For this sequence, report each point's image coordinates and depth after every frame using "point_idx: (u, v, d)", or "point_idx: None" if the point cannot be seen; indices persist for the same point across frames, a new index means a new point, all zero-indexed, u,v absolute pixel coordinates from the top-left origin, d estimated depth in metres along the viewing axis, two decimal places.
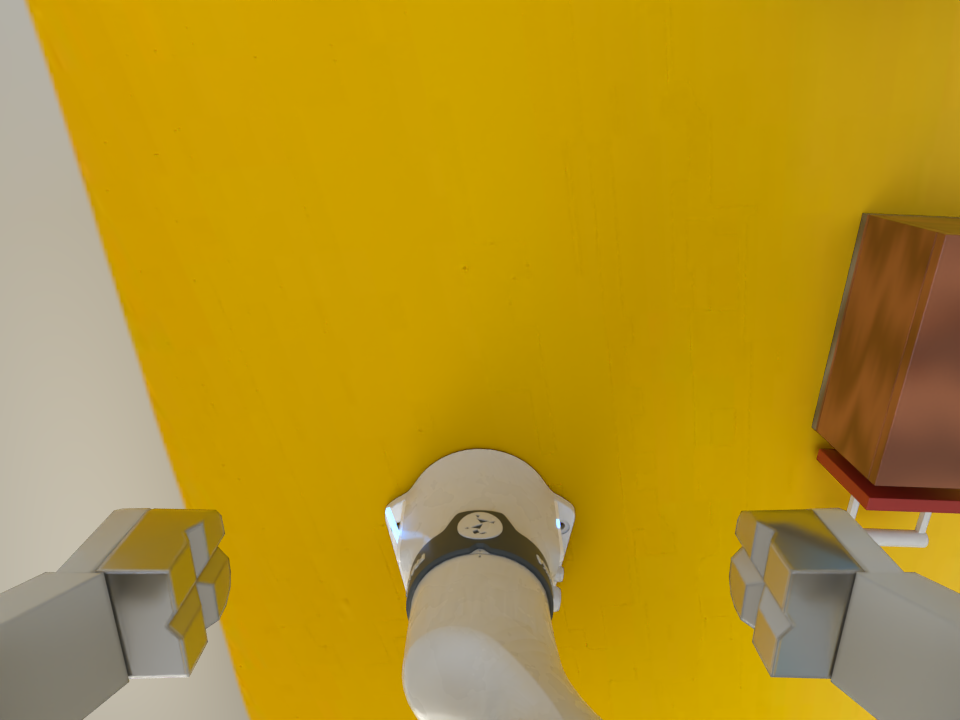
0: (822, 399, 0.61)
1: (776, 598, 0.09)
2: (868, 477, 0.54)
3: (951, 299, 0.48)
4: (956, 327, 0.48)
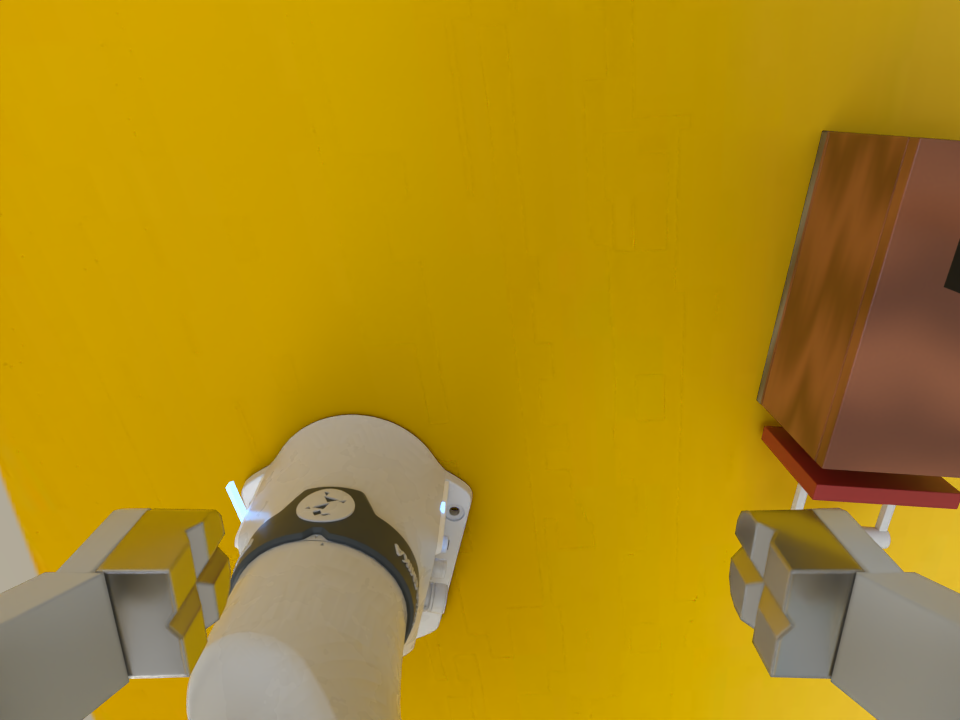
0: (769, 365, 0.50)
1: (776, 598, 0.09)
2: (815, 458, 0.43)
3: (924, 226, 0.37)
4: (930, 265, 0.37)
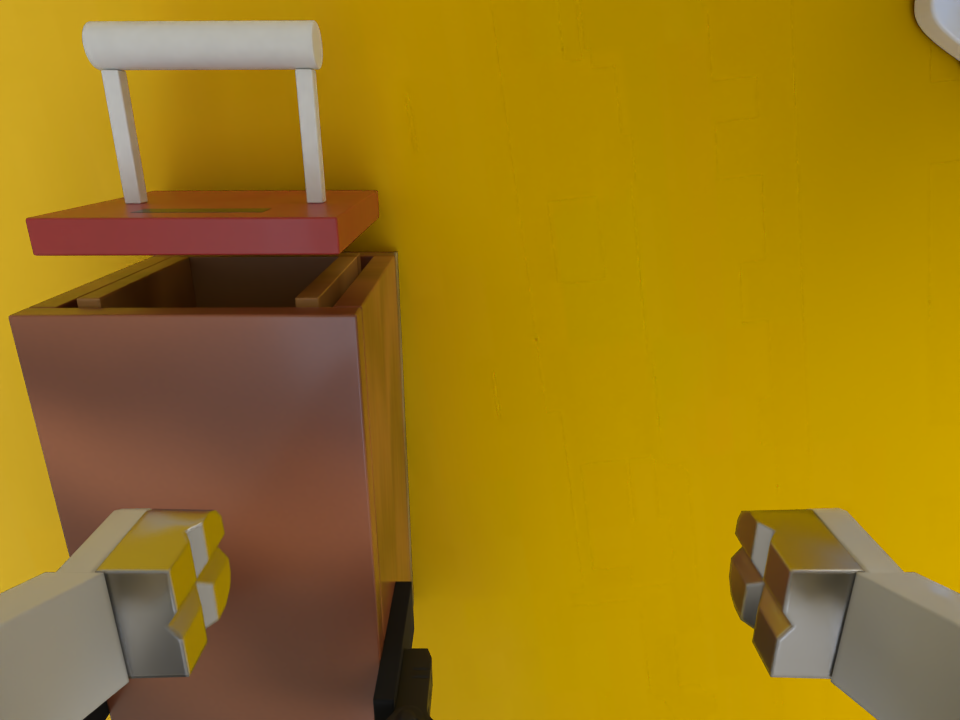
0: (398, 320, 0.31)
1: (776, 598, 0.09)
2: (362, 312, 0.22)
3: (339, 692, 0.26)
4: (309, 650, 0.25)
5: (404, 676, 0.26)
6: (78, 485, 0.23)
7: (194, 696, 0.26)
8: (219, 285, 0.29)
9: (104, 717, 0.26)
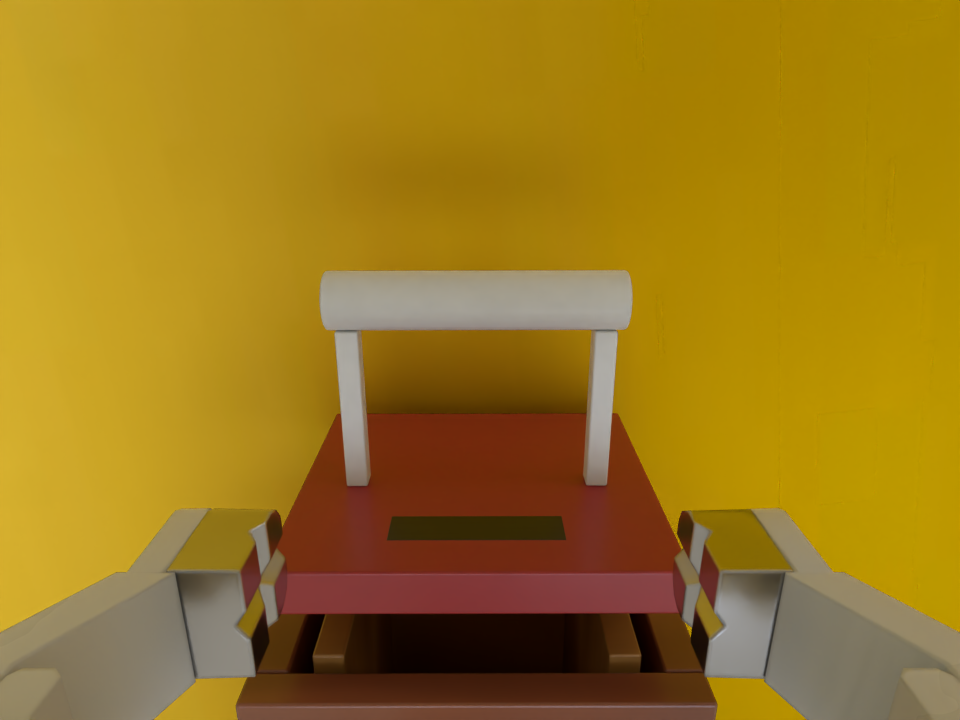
0: None
1: (708, 598, 0.09)
2: None
3: None
4: None
5: None
6: None
7: None
8: None
9: None
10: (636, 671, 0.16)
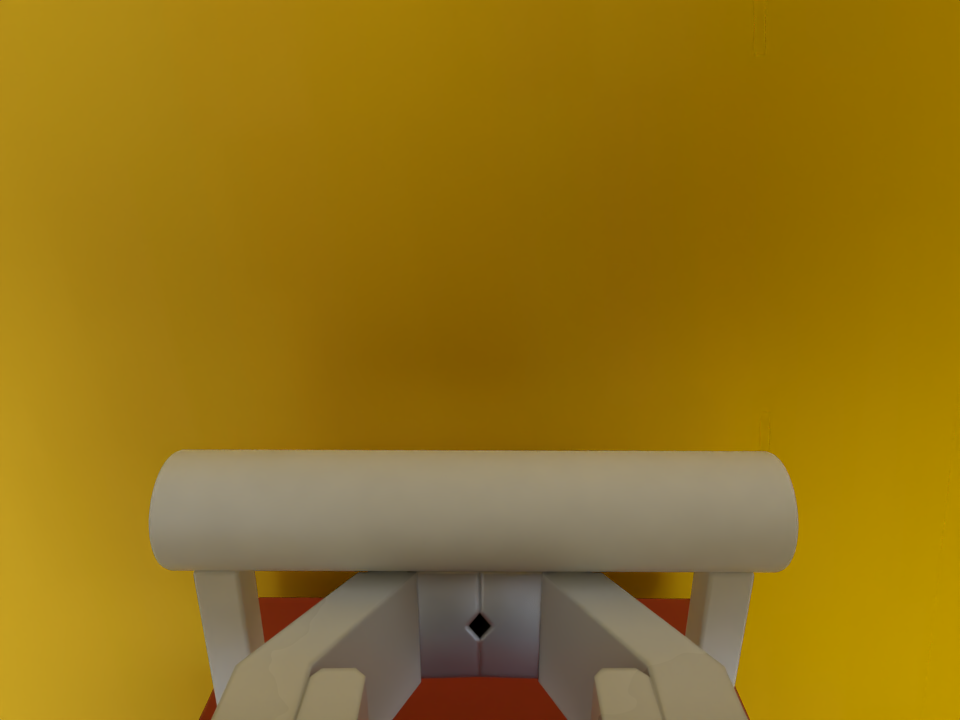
0: None
1: None
2: None
3: None
4: None
5: None
6: None
7: None
8: None
9: None
10: None
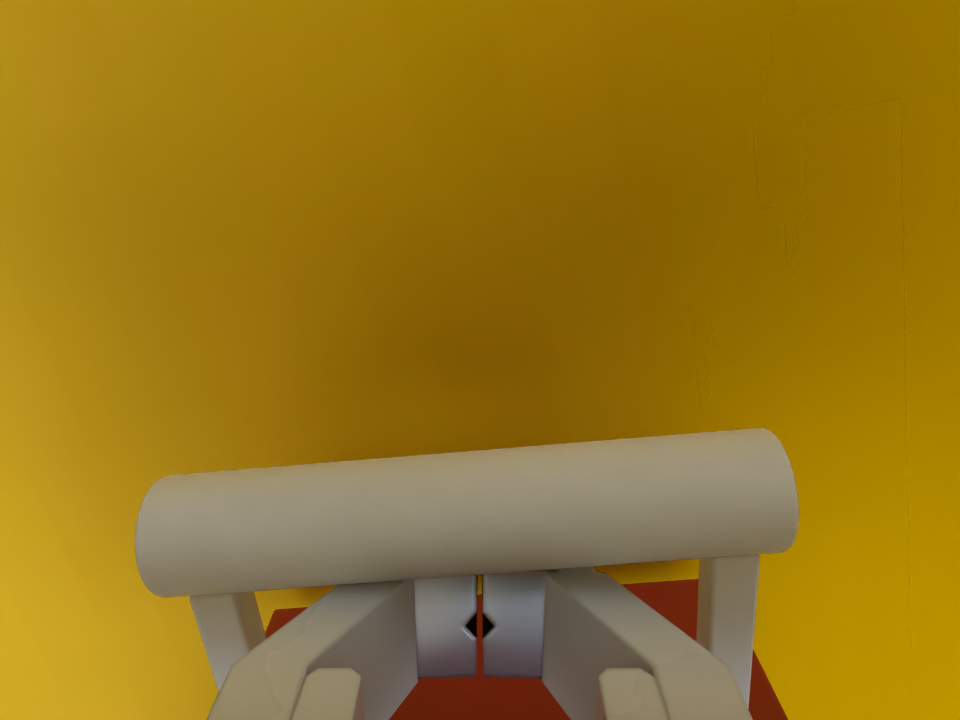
0: None
1: None
2: None
3: None
4: None
5: None
6: None
7: None
8: None
9: None
10: None
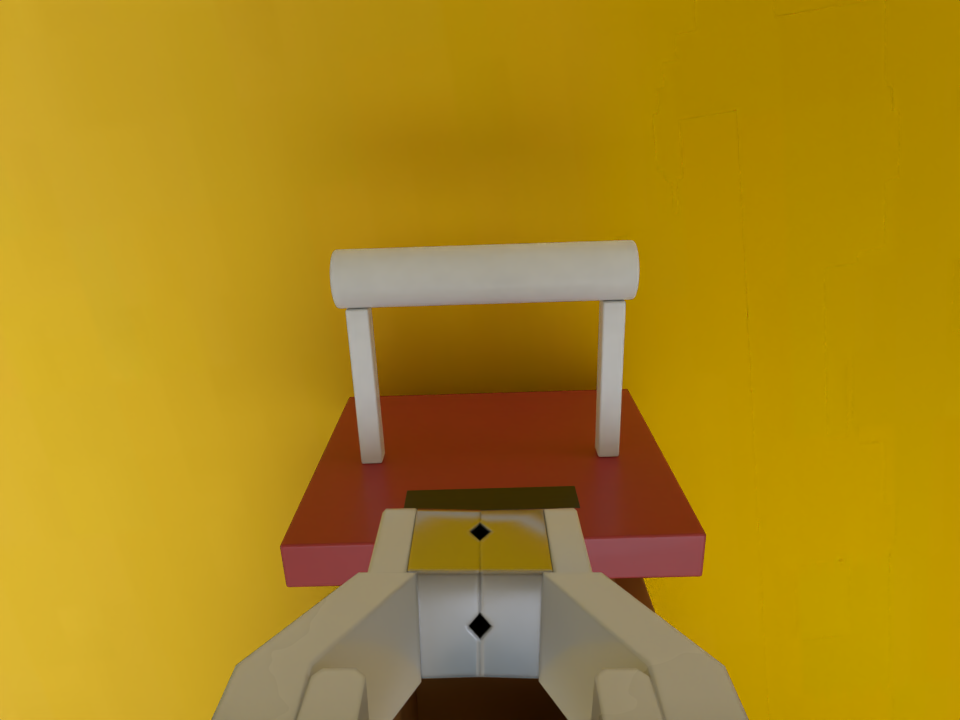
0: None
1: None
2: None
3: None
4: None
5: None
6: None
7: None
8: None
9: None
10: None
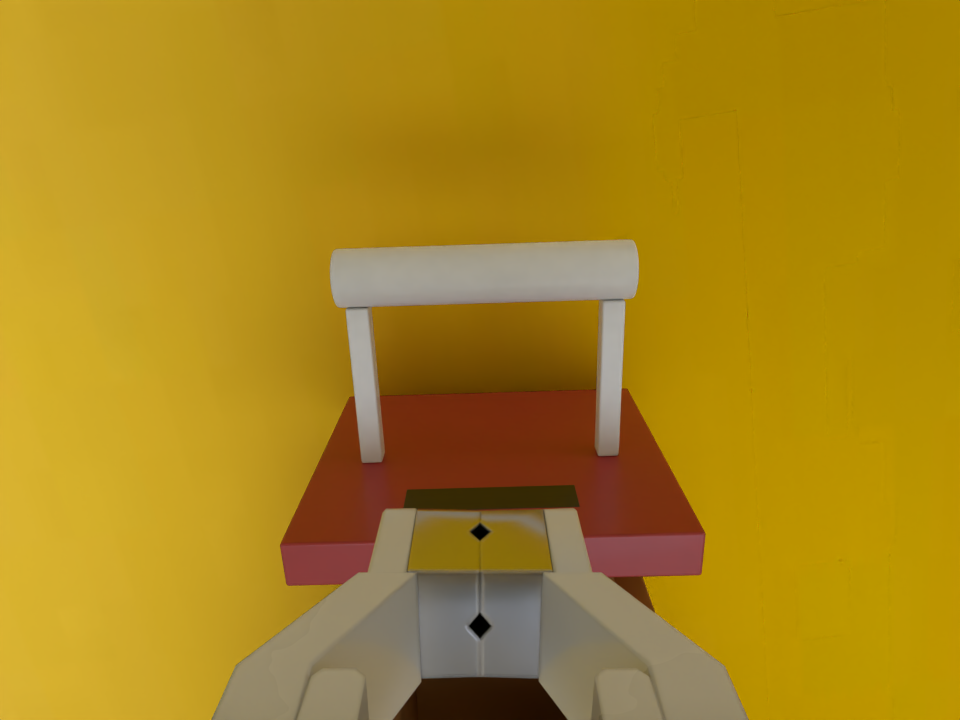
0: None
1: None
2: None
3: None
4: None
5: None
6: None
7: None
8: None
9: None
10: None
